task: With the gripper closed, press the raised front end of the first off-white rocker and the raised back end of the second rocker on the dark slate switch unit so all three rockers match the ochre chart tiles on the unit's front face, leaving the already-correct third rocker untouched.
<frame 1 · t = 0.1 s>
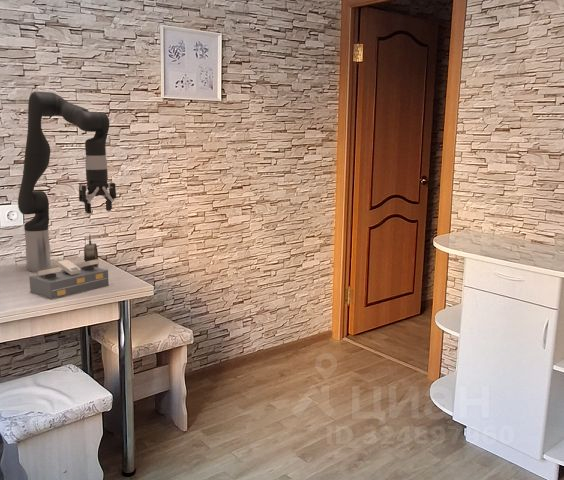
hand: (98, 212, 215), 29 cm above the table, fingers open, 8 cm apart
rocker b: (69, 267, 218), point 8 cm above the table, hinge at 15.0°
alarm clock: (91, 272, 245), on the table
rocker a: (49, 271, 212), point 8 cm above the table, hinge at -15.0°
rocker c: (87, 263, 224), point 8 cm above the table, hinge at -15.0°
switch unit: (70, 288, 220), on the table
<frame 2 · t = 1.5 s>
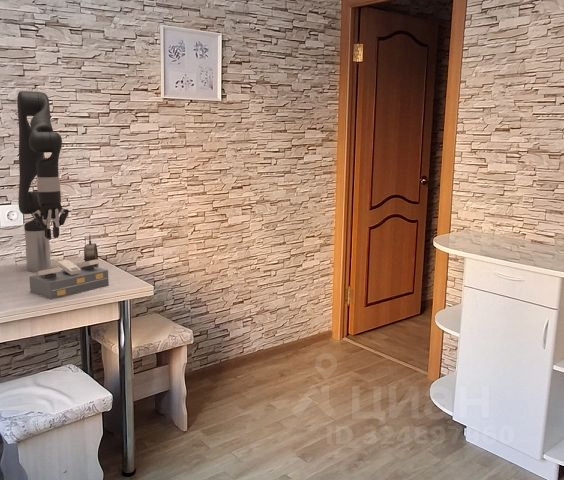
hand: (52, 238, 207), 21 cm above the table, fingers closed
nothing on the table moved.
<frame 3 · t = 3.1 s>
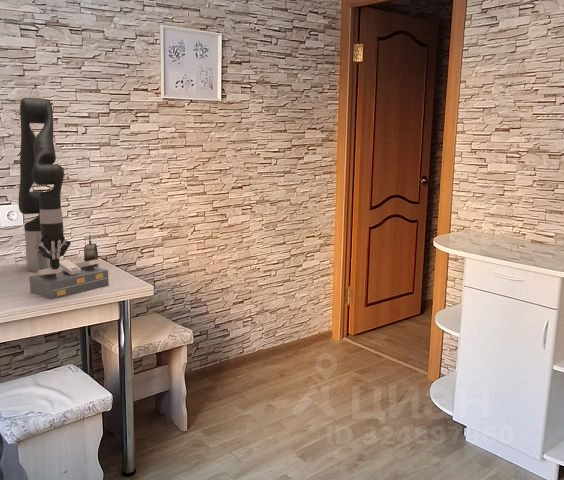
hand: (55, 268, 209), 10 cm above the table, fingers closed
rocker a: (49, 271, 212), point 8 cm above the table, hinge at -11.4°, touching gripper
everything else where it was.
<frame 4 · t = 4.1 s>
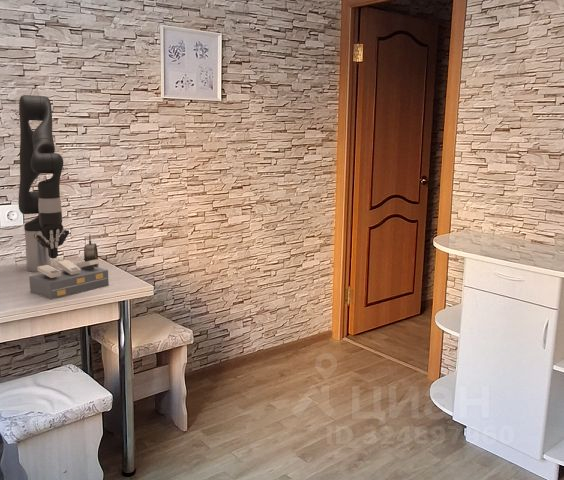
hand: (53, 258, 209), 14 cm above the table, fingers closed
rocker a: (49, 271, 212), point 8 cm above the table, hinge at 7.8°
everything else where it was.
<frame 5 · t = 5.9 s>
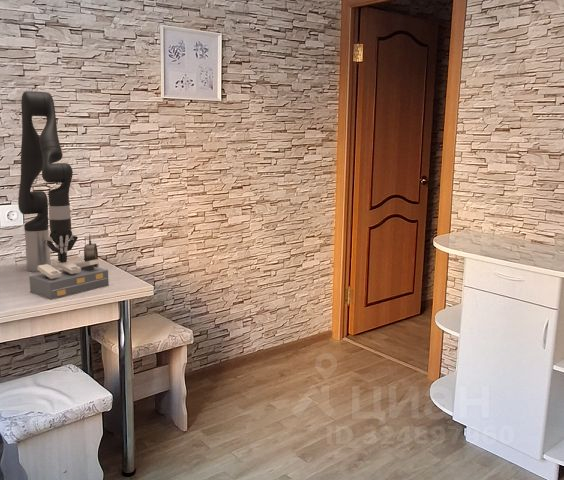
hand: (62, 262, 220), 10 cm above the table, fingers closed
rocker b: (69, 267, 218), point 8 cm above the table, hinge at 9.5°, touching gripper
rocker a: (49, 271, 212), point 8 cm above the table, hinge at 12.3°
everything else where it was.
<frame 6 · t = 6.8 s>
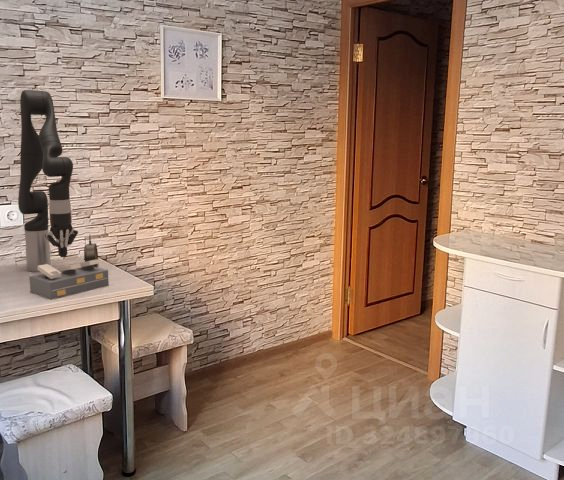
hand: (63, 256, 220), 12 cm above the table, fingers closed
rocker b: (69, 267, 218), point 8 cm above the table, hinge at -13.4°
everything else where it was.
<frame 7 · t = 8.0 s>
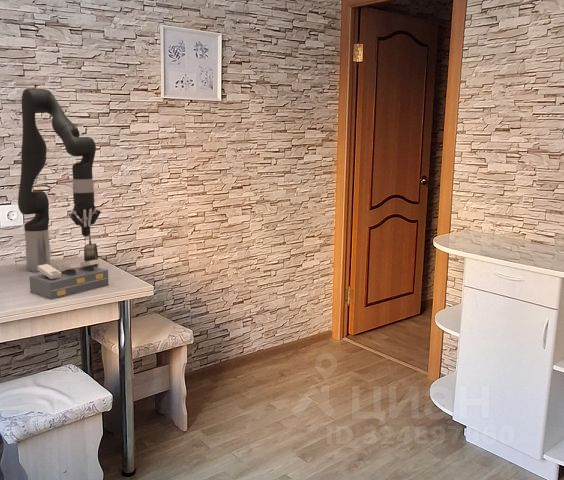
hand: (86, 236, 222), 19 cm above the table, fingers closed
rocker b: (69, 267, 218), point 8 cm above the table, hinge at -18.1°
everything else where it was.
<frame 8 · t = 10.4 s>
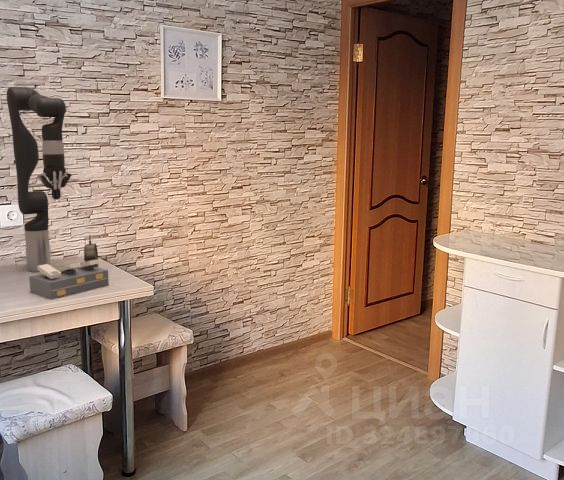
hand: (56, 199, 220), 33 cm above the table, fingers closed
rocker b: (69, 267, 218), point 8 cm above the table, hinge at -19.0°
everything else where it was.
at the end: rocker a at +13° (first picture: -15°); rocker b at -19° (first picture: +15°); rocker c at -15° (first picture: -15°) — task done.
